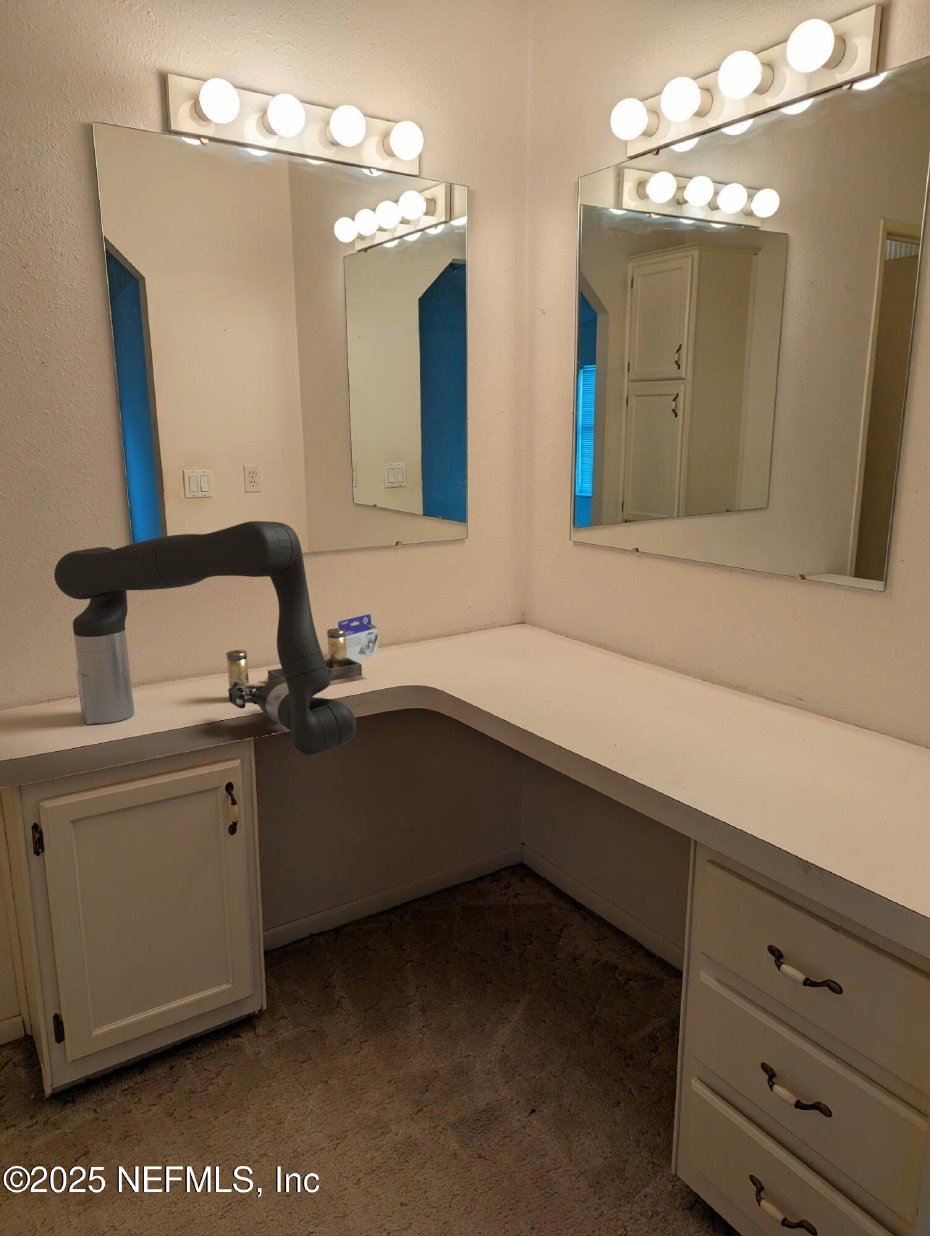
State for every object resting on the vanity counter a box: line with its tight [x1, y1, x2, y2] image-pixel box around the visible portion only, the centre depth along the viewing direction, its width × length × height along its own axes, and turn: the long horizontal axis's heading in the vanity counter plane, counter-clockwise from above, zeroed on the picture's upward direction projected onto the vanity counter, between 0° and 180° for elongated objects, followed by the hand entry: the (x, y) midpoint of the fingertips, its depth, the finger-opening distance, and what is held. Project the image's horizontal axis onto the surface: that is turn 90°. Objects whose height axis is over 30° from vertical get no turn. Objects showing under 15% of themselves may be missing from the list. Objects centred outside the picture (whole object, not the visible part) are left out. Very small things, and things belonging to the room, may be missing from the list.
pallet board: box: [265, 658, 368, 687], centre depth 185 cm, size 19×14×4 cm
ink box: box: [337, 613, 378, 662], centre depth 200 cm, size 12×2×12 cm, turn 143°
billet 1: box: [225, 649, 250, 696], centre depth 176 cm, size 4×4×10 cm
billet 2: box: [326, 627, 347, 669], centre depth 187 cm, size 4×4×10 cm
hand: (256, 683), depth 166 cm, fingers open, 8 cm apart
